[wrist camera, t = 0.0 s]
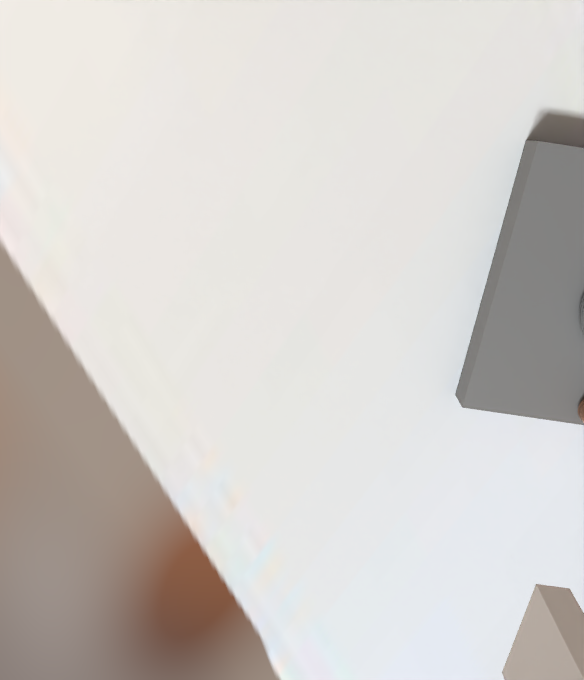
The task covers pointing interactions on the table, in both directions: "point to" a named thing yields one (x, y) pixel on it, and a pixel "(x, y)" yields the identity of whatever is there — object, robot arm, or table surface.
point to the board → (533, 296)
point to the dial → (583, 321)
